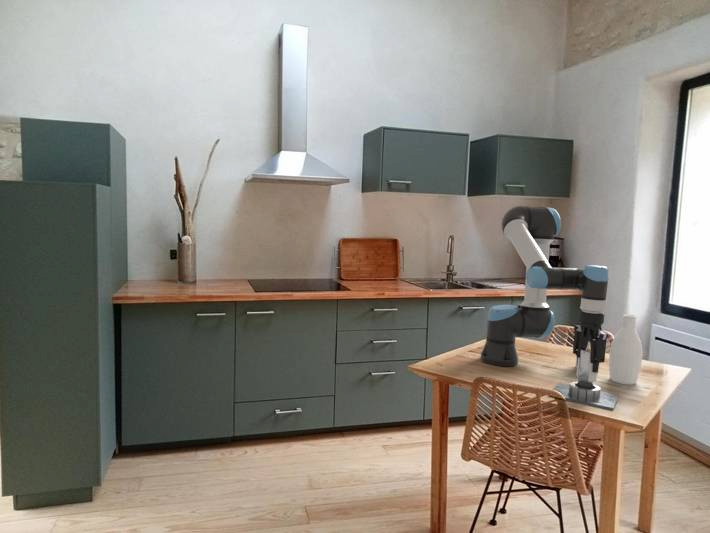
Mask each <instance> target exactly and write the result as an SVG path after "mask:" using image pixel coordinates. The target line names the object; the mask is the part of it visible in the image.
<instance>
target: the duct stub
mask: <svg viewBox="0 0 710 533" xmlns="http://www.w3.org/2000/svg"><path fill="white" fill-rule="evenodd" d="M590 361H592V357H591V347H587V349H581V352H580V363H579V374H578V377H577V381H578V385H579V386H582V387H593V386H594V383H595V382H589V381H588V376H589V365H590Z"/></svg>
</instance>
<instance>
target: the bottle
mask: <svg viewBox="0 0 710 533" xmlns="http://www.w3.org/2000/svg"><path fill="white" fill-rule="evenodd" d="M622 317H623V318H622V324H621V328H620V329H619V330H618V331H617V332H616V334H615V335H614V338H613V340H612V341H611V345H610V349H609V358H608V362H609V363H608V366H609V367H608V369H609V378H610V380H611V382H614V383H618V384H621V385H625V386H627V385H628V386H629V385H631V386H633V385H636V384H637V383H638V379H639V375H640V372H641V368H642V360H643V346H642V345H643V344H642V342H641V337H640V336H639V334H638V332H637V330H636V324H637V322H636V321H637V316H636V315H634V314H629V313H625V314H623V315H622Z"/></svg>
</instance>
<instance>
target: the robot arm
mask: <svg viewBox="0 0 710 533" xmlns="http://www.w3.org/2000/svg"><path fill="white" fill-rule="evenodd" d="M561 219H562V218H561V217H560V214H559V213H558V211H557V210H556V209H555V208H553V207H548V206H530V205H529V206H527V205H526V206H525V205H518V206H513V207H512V208H509V209H508V210H507V211H506V213H505V214H504V215H503V217H502V219H501V231H502V233H503V235H504V236H505V238H507V239H508V240H510V242H511V243H512V245H513V247H514V248H515V250H516V252H517V254H518V255H519V257H520V260H522V262H523V264H524V266H525V267H526V269H525V283H524V285H525V286H524V300H523V301H522V302H521V303H520V304H519V307H518V306H517V305H514V304H500V305H493V306H491V307H490V308H489V310H488V314H487V317H486V318H487V326H486V338H485V344H484V345H483V348H482V350H481V353H480V359H479V360H481V362H483V363H486V364H488V365H492V366H496V367H497V366H498V367H513V366H514V367H515V366H517V365H519V356H518V352H517V347H516V339H517V338H535V339H540V338H547V337H549V335H551V333H552V332H553V330H554V327H555V323H556V322H555V321H556V320H555V319H556V318H555V314H554V312H553V311H552V310H551V309H550V305H549V304H548V303H547V292H548V291H547V290H573V291H575V290H576V291H577V290H578V291H581V299H580V307H579V308H580V309H581V310H580V311H579V322H581V323H580V325H574V326H573V331H574V337H573V347H572V354H573V355H576V356H575V357H576V358H577V367H576V377H577V378H578V374H579V363H580V352H581V349H587V345H588V342H590V346H591V357H592V361H590V365H589V376H588V381H589V382H594V383H596V382H597V379H598V378H597V376H598V373H599V367H600V364H601V363H605V360H606V348H607V341H608V338H609V334H608V333H607V332H606V333H605V332H603V329H602V325H603V324H605V313H604V312H605V311H606V301H607V292H608V282H609V268H608V267H607V266H605V265H597V264H595V265H594V264H587V265H584V268H581V267H575V266H573V267H554V266H553V267H552V266H551V264H550V263H549V260H550V259H549V258H550V247H551V246H550V244H552V243H553V242H554V241H555V237H556V236H558V235H559V234H560V231H561V229H562V220H561ZM593 339H596V340H593Z"/></svg>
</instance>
